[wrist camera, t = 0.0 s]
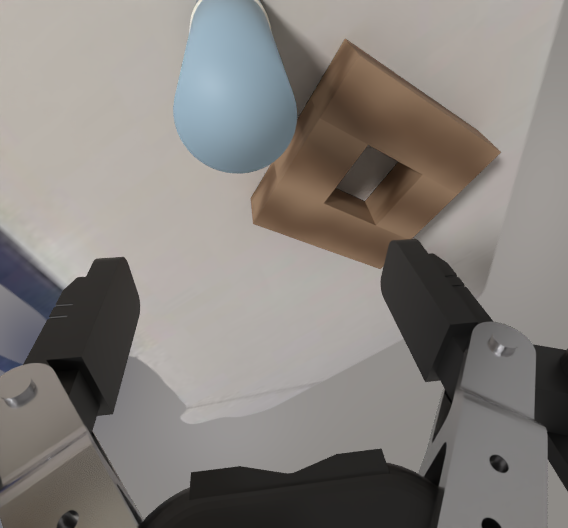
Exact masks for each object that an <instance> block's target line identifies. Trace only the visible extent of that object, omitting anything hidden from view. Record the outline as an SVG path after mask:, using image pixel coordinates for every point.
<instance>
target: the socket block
mask: <svg viewBox="0 0 568 528" xmlns="http://www.w3.org/2000/svg"><path fill="white" fill-rule="evenodd" d="M368 145H369V146H371V147H373V148H375V149H377V150H379V151H380V152H382V153H384V154H386V155H388V156H389V157H391V158H393V159H395V160H397V161H399V162H398V163H397V164H396V165H395V167H394V168H393V169H392V170H391V171H390V173H389V174H388V175H387V176H386V177H385V178H384V180H383V181H382V182H381V183H380V184H379V186H378V187H377V188H376V189H375V190H374V191H373V193H372V194H371V195H370V196H369V197H368V199H367V200H366V201H363V200H361V199H358V198H356V197H354V196H352V195H350V194H347V193H345V192H343V191H341V190H339V189H336V187H337V185H338V184H339V183H340V181H341V180H342V179H343V177H344V176H345V175H346V173H347V172H348V171H349V169H350V168H351V167H352V165H353V164H354V163H355V162H356V160H357V159H358V158H359V156H360V155H361V154H362V152H363V151H364V150H365V148H366V147H367V146H368ZM500 153H501V152H500V151H499V150H498V149H497V148H496V147H495V146H494V145H493V144H492V143H491V142H490V141H489V140H488V139H487V138H485V137H484V136H483V135H482V134H481V133H480V132H479V131H478V130H476V129H475V128H474V127H472V126H471V125H469V124H468V123H466V122H465V121H463V120H462V119H461V118H459V117H458V116H456V115H455V114H453V113H452V112H450V111H449V110H448V109H446V108H445V107H443V106H442V105H440V104H439V103H438V102H436V101H435V100H433V99H432V98H430V97H429V96H427V95H426V94H425V93H423V92H422V91H420V90H419V89H417V88H416V87H414V86H413V85H412V84H410V83H409V82H407V81H406V80H404V79H403V78H401V77H400V76H399V75H397V74H396V73H394V72H393V71H391V70H390V69H389V68H387V67H386V66H384V65H383V64H381V63H380V62H378V61H377V60H376V59H374V58H373V57H371V56H370V55H368V54H367V53H365V52H364V51H363V50H361V49H360V48H358V47H357V46H355V45H354V44H352V43H351V42H350V41H348V40H347V39H345V40H344V42H343V43H342V45H341V47H340V48H339V50H338V52H337V53H336V55H335V57H334V58H333V60H332V62H331V64H330V65H329V67H328V69H327V70H326V72H325V74H324V75H323V77H322V79H321V80H320V82H319V84H318V86H317V87H316V89H315V91H314V92H313V94H312V96H311V97H310V99H309V101H308V102H307V104H306V106H305V108H304V109H303V111H302V113H301V114H300V116H299V118H298V119H297V124H296V129H295V133H294V135H293V138H292V140H291V142H290V144H289V146H288V147H287V149H286V150H285V151H284V153H283V154H282V155H281V156H280V157H279V158H278V159H277V160H275V161H274V162H273V163H271V165H270V167H269V168H268V170H267V172H266V174H265V175H264V177H263V179H262V180H261V182H260V184H259V185H258V187H257V189H256V190H255V192H254V194H253V196H252V197H251V206H252V216H253V224H255V225H258V226H261V227H264V228H267V229H269V230H272V231H275V232H278V233H281V234H283V235H286V236H289V237H292V238H295V239H297V240H300V241H303V242H306V243H309V244H311V245H314V246H317V247H320V248H323V249H325V250H328V251H331V252H334V253H337V254H339V255H342V256H345V257H348V258H351V259H353V260H356V261H359V262H362V263H365V264H367V265H370V266H373V267H376V268H379V269H381V268H382V267H383V266H384V263H385V258H386V254H387V249H388V246H389V243H390V242H391V241H392V240H405V239H412V238H413V237H414V236H415V235H416V234H417V233H418V232H419V231H420V230H421V229H422V228H423V227H424V226H425V225H426V224H427V223H429V222H430V221H431V220H432V219H433V218H434V217H435V216H436V215H437V214H438V213H439V212H440V211H441V210H442V209H443V208H444V207H445V206H446V205H447V204H448V203H449V202H450V201H451V200H452V199H453V198H454V197H455V196H456V195H457V194H458V193H460V192H461V191H462V190H463V189H464V188H465V187H466V186H467V185H468V184H469V183H470V182H471V181H472V180H473V179H474V178H475V177H476V176H477V175H478V174H479V173H480V172H481V171H482V170H483V169H484V168H485V167H486V166H487V165H488V164H490V163H491V162H492V161H493V160H494V159H495V158H496V157H497V156H498V155H499V154H500Z"/></svg>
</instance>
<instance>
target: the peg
mask: <svg viewBox="0 0 568 528" xmlns="http://www.w3.org/2000/svg"><path fill="white" fill-rule="evenodd" d="M173 110H174V121H175V125H176V129H177V132H178V134H179V136H180V139H181V140H182V142H183V144H184V145H185V146H186V148H187V149H188V150H189V152H190V153H191V154H192V155H193V156H194V157H196V158H197V159H198V160H199V161H201V162H202V163H204V164H205V165H207V166H209V167H211V168H213V169H216V170H219V171H223V172H227V173H249V172H253V171H257V170H259V169H262V168H264V167H266V166H268V165H270V164H271V163H273V162H274V161H275V160H277V159H278V158H279V157H280V156H281V155H282V154H283V153H284V151H285V150H286V149H287V147H288V146H289V144H290V142H291V140H292V138H293V135H294V133H295V129H296V124H297V107H296V101H295V98H294V95H293V92H292V89H291V86H290V83H289V80H288V78H287V75H286V72H285V69H284V66H283V63H282V61H281V58H280V55H279V52H278V49H277V46H276V44H275V41H274V38H273V35H272V30H271V25H270V22H269V19H268V16H267V14H266V11H265V9H264V8H263V6H262V4H261V1H260V0H197V2H196V5H195V7H194V10H193V12H192V16H191V20H190V27H189V37H188V41H187V46H186V50H185V54H184V59H183V63H182V68H181V72H180V76H179V81H178V85H177V90H176V94H175V98H174V106H173Z"/></svg>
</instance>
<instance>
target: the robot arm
mask: <svg viewBox="0 0 568 528" xmlns="http://www.w3.org/2000/svg"><path fill="white" fill-rule="evenodd" d="M381 291H382V295H383V297H384V300H385V302H386V304H387V306H388V308H389V310H390V312H391V314H392V316H393V318H394V320H395V322H396V324H397V326H398V328H399V330H400V332H401V334H402V336H403V338H404V340H405V342H406V344H407V346H408V348H409V350H410V352H411V354H412V356H413V358H414V360H415V362H416V364H417V366H418V368H419V370H420V372H421V374H422V376H423V378H424V380H425V382H430V381H438V380H440V381H441V382H442V384H443V386H444V389H443V392H442V394H441V398H440V401H439V405H438V409H437V412H436V416H435V420H434V424H433V428H432V432H431V435H430V439H429V443H428V447H427V450H426V453H425V456H424V459H423V461H422V464H421V467H420V469H419V472H418V474H417V473H416V472H414V471H411V470H409V469H406V468H404V467H402V466H398V465H395V464H391V463H386V461H385V458H384V455H383V452H382V449H374V450H366V451H358V452H350V453H342V454H336V455H334V456H332V457H329V458H327V459H325V460H322V461H320V462H318V463H315V464H313V465H311V466H308V467H306V468H304V469H301V470H299V471H297V472H294V473H289V474H287V473H279V472H273V471H267V470H260V469H254V468H247V467H241V466H239V467H231V468H223V469H215V470H208V471H199V472H191V481H190V488H187V489H185V490H183V491H181V492H179V493H177V494H175V495H174V496H172V497H170V498H169V499H168V500H166V501H165V502H163V503H162V504H161V505H159V506H158V507H157V508H156V509H155V510H154V511H153V512H152V513H150V514H149V515H148V516H147V517H146V518H145V520H144V519H143V517H142V516H141V514H140V512H139V510H138V509H137V507H136V505H135V503H134V502H133V500H132V499H131V497H130V495H129V494H128V492H127V490H126V489H125V487H124V485H123V483H122V482H121V480H120V478H119V476H118V474H117V473H116V471H115V469H114V467H113V466H112V464H111V462H110V460H109V459H108V457H107V455H106V453H105V451H104V449H103V448H102V446H101V444H100V442H99V441H98V439H97V437H96V436H95V434H94V432H93V427H94V423H95V420H96V417H97V416H100V415H110V414H113V412H114V408H115V404H116V401H117V396H118V393H119V389H120V386H121V382H122V378H123V375H124V370H125V367H126V363H127V359H128V356H129V352H130V348H131V345H132V341H133V337H134V334H135V330H136V326H137V322H138V319H139V314H140V300H139V295H138V292H137V289H136V286H135V283H134V280H133V277H132V274H131V271H130V268H129V265H128V262H127V260H126V259H125V258H124V257H115V258H100V259H95V260H94V262H93V264H92V266H91V268H90V270H89V272H88V274H87V276H86V277H77V278H76V279H75V280H74V281H73V282H72V283H71V284H70V285H69V286H67V287H66V288H65V289H64V290H63V292H62V294H61V295H60V297H59V299H58V301H57V303H56V307H54V308H53V310H52V312H51V314H50V316H49V317H50V319H48V320H47V321H46V323H45V325H44V327H43V329H42V331H41V333H40V334H39V336H38V338H37V340H36V342H35V344H34V346H33V348H32V349H31V351H30V353H29V355H28V357H27V359H26V360H25V362H24V364H23V365H22V366H19V367H16V368H14V369H12V370H10V371H8V372H6V373H4V374H3V375H2V376H0V519H1V522H2V526H3V528H548V526H547V524H548V515H547V514H548V511H547V510H548V504H547V503H548V497H547V496H548V493H547V492H548V491H547V490H548V488H547V487H548V483H547V481H548V473H547V471H548V470H547V469H548V468H547V467H548V465H547V464H548V462H547V460H549V462H550V463H551V465H552V467H553V468H554V470H555V472H556V473H557V475H558V476H559V478H560V480H561V481H562V483H563V485H564V486H565V488H566V489H567V491H568V349H567V350H562V349H556V348H550V347H544V346H538V345H533V344H532V343H531V341H530V340H529V339H528V338H527V337H526V336H525V335H523V334H522V333H521V332H519V331H518V330H516V329H515V328H513V327H511V326H508V325H506V324H502V323H498V322H493V321H492V319H491V318H490V317H489V315H488V314H487V313H486V312H485V310H484V309H483V308H482V306H481V305H480V304H479V303H478V301H477V300H476V299H475V298H474V296H473V295H472V294H471V292H470V291H469V290H468V289H467V287H464V283H463V282H462V281H461V280H460V278H459V277H457V275H456V273H455V272H454V271H453V269H452V268H451V267H450V266H449V264H448V263H447V262H445V261H444V260H442V259H441V258H439V257H438V256H436V255H435V254H428V253H427V251H426V250H425V249H424V247H423V246H422V245H421V243H420V242H419V241H418V240H417V239H405V240H392V241H391V242H390V243H389V246H388V249H387V254H386V258H385V263H384V267H383V271H382V276H381Z"/></svg>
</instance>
